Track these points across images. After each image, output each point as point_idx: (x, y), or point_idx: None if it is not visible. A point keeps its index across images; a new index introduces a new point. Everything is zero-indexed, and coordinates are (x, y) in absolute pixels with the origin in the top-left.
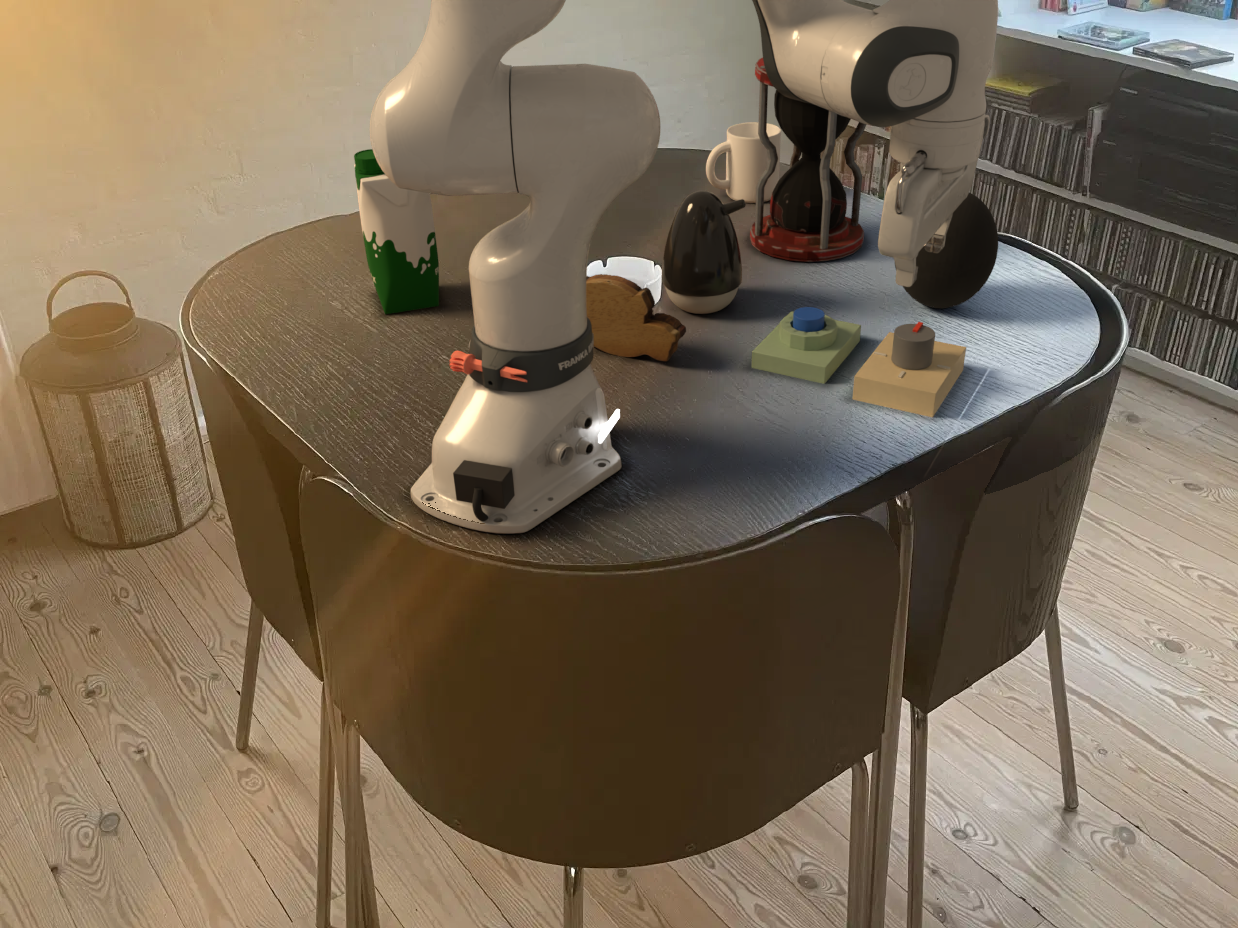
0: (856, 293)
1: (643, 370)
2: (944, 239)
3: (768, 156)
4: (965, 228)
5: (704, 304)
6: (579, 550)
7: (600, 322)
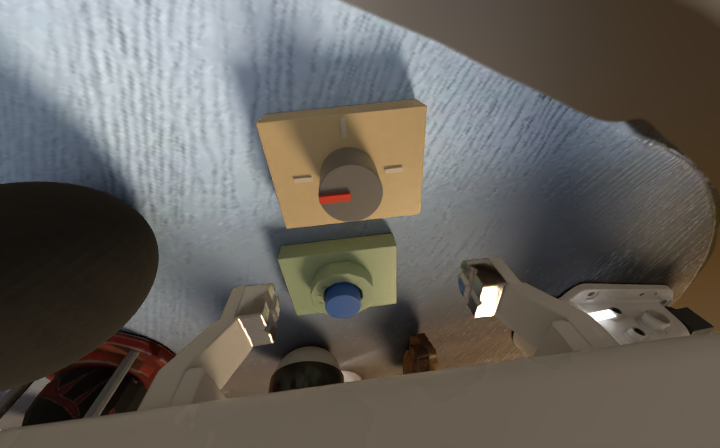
0: (179, 291)
1: (431, 334)
2: (235, 306)
3: None
4: None
5: (333, 359)
6: (690, 253)
7: None
